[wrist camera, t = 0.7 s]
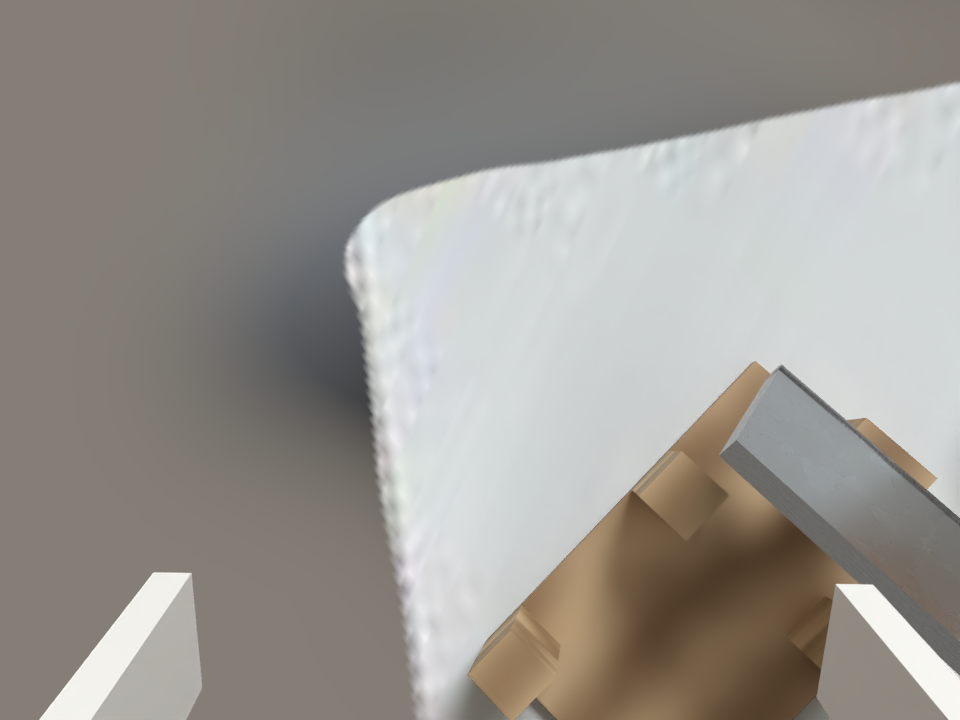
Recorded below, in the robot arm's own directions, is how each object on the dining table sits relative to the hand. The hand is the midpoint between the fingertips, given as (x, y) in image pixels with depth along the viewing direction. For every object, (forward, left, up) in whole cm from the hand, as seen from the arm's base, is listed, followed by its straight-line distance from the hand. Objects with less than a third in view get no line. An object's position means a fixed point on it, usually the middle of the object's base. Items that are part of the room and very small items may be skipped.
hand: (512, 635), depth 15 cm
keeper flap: (-9, -10, -18) cm, 22 cm away
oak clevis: (-9, -3, -28) cm, 30 cm away
